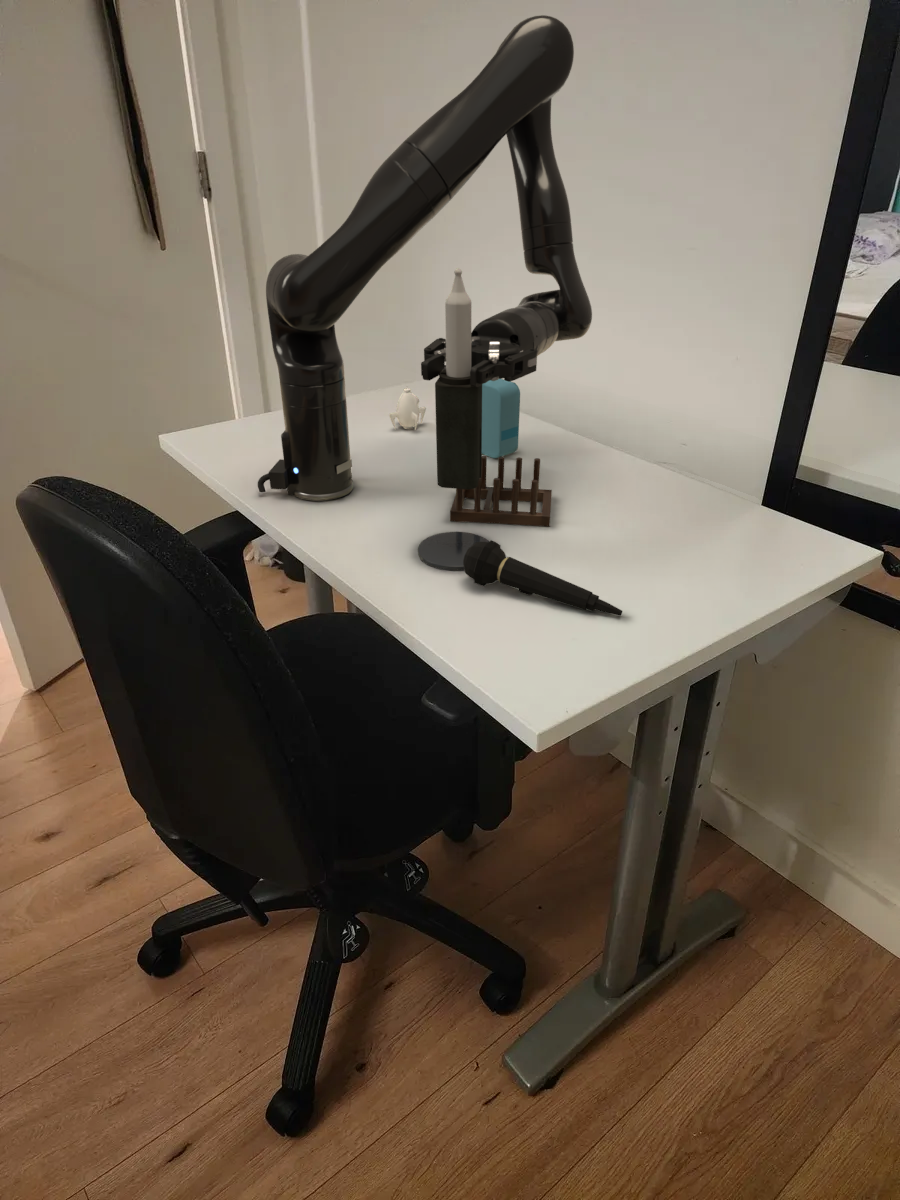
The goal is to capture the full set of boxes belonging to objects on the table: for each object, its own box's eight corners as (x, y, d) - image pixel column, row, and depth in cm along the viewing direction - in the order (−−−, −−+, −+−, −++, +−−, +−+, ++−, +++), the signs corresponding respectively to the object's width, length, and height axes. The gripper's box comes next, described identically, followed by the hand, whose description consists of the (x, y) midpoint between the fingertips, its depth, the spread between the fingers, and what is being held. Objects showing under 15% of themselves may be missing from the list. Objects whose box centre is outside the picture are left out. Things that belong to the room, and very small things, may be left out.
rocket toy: (426, 424, 149) (425, 382, 145) (418, 433, 145) (417, 390, 141) (398, 422, 150) (397, 379, 146) (389, 431, 146) (388, 388, 142)
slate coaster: (411, 568, 101) (411, 564, 101) (424, 533, 110) (424, 529, 110) (490, 573, 100) (490, 568, 100) (496, 537, 109) (497, 533, 108)
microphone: (619, 631, 94) (469, 574, 101) (634, 585, 92) (480, 531, 99) (607, 641, 89) (451, 581, 96) (624, 594, 88) (463, 536, 94)
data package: (518, 454, 136) (521, 384, 129) (499, 461, 133) (501, 389, 127) (470, 436, 143) (471, 369, 137) (451, 442, 141) (451, 374, 135)
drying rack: (450, 521, 113) (450, 478, 110) (458, 494, 121) (458, 454, 118) (549, 526, 112) (552, 483, 108) (551, 499, 120) (554, 458, 116)
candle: (476, 490, 98) (477, 272, 85) (435, 487, 99) (430, 271, 86) (482, 474, 102) (484, 264, 89) (443, 471, 103) (440, 263, 90)
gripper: (459, 306, 105) (393, 334, 92) (562, 316, 99) (507, 348, 86) (459, 364, 109) (396, 399, 96) (559, 377, 103) (505, 415, 90)
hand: (449, 374), depth 91 cm, fingers closed on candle, 5 cm apart
